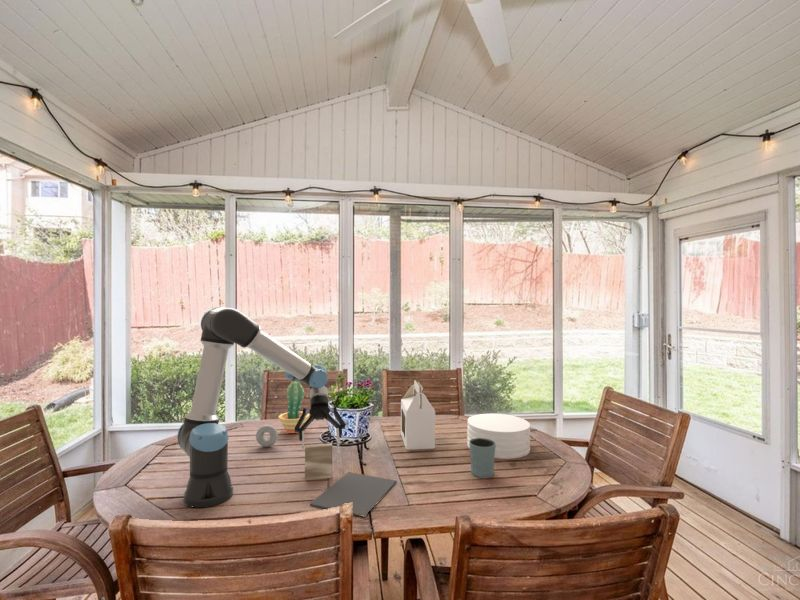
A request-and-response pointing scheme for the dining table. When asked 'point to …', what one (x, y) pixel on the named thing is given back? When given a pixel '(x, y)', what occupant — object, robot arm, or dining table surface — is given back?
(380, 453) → the dining table surface
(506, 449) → the plate stack
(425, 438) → the gable box
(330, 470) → the birch tile
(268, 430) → the donut
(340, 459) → the dining table surface
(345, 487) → the rubber mat
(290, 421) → the potted cactus
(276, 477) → the dining table surface
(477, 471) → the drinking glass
